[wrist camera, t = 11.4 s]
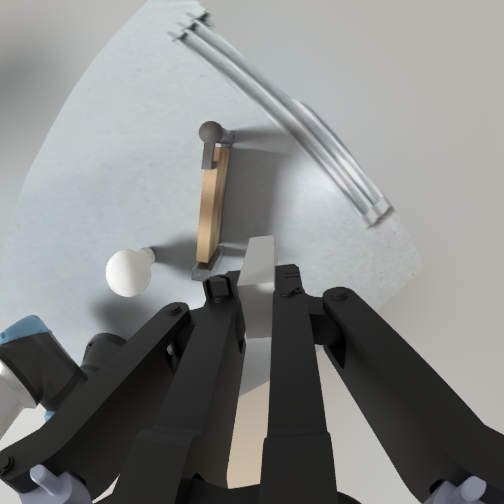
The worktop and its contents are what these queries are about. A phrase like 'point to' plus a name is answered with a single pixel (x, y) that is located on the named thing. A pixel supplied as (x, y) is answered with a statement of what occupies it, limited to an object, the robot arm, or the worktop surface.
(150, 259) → the light bulb
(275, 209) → the worktop surface
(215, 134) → the gate
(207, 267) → the gate frame
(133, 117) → the worktop surface
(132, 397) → the robot arm
